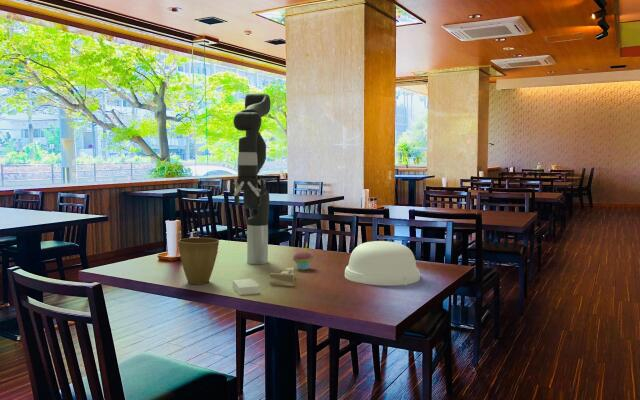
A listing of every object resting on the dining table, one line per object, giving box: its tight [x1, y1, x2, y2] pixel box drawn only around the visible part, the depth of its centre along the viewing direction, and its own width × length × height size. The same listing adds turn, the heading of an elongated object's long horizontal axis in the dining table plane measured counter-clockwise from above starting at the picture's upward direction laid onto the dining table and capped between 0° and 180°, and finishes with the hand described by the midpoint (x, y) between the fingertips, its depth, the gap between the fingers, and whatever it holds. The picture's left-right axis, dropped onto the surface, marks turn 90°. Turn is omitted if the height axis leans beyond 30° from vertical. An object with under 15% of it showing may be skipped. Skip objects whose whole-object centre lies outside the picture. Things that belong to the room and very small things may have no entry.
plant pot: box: [177, 237, 220, 285], centre depth 195 cm, size 15×15×16 cm
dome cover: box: [344, 240, 421, 286], centre depth 208 cm, size 32×30×14 cm
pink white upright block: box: [232, 278, 260, 296], centre depth 184 cm, size 3×7×12 cm
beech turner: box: [269, 266, 296, 287], centre depth 199 cm, size 14×9×4 cm, turn 167°
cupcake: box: [292, 241, 314, 271], centre depth 222 cm, size 9×8×12 cm
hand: (247, 205), depth 204 cm, fingers open, 8 cm apart
